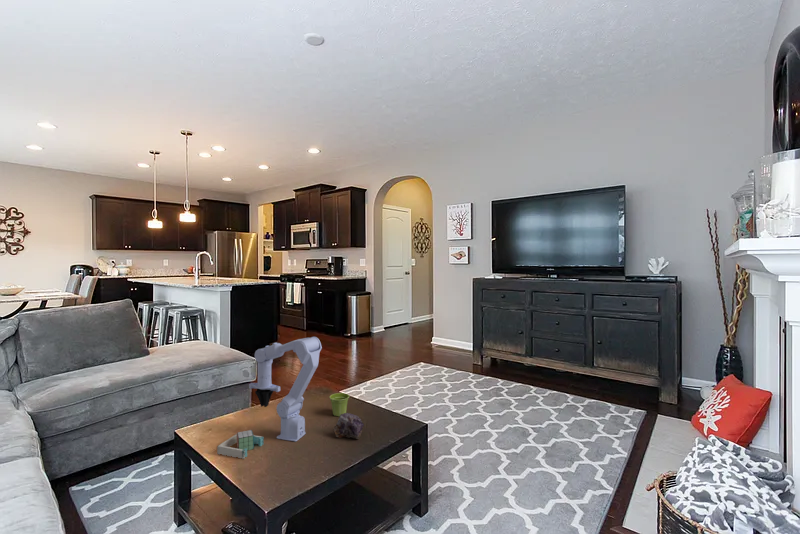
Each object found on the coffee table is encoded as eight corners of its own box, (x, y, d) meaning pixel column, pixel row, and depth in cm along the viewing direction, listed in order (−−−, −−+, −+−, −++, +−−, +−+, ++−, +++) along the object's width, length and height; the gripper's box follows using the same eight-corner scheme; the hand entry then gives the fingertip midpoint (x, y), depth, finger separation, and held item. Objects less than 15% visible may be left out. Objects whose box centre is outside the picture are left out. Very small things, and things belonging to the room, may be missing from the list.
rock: (355, 445, 162) (365, 434, 171) (358, 426, 161) (368, 415, 170) (330, 436, 166) (341, 426, 175) (333, 417, 165) (344, 407, 174)
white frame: (263, 444, 160) (263, 436, 160) (243, 458, 148) (243, 451, 148) (238, 439, 163) (238, 432, 163) (217, 453, 152) (217, 446, 152)
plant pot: (327, 412, 192) (327, 394, 192) (346, 409, 196) (346, 391, 196) (332, 419, 184) (332, 401, 183) (351, 416, 188) (352, 398, 187)
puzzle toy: (253, 449, 156) (253, 435, 155) (238, 452, 153) (238, 438, 153) (251, 443, 161) (251, 429, 160) (236, 446, 158) (236, 432, 158)
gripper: (284, 374, 175) (284, 404, 175) (256, 371, 179) (256, 400, 179) (275, 379, 168) (275, 410, 169) (245, 375, 172) (245, 406, 173)
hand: (264, 405), depth 174 cm, fingers closed
